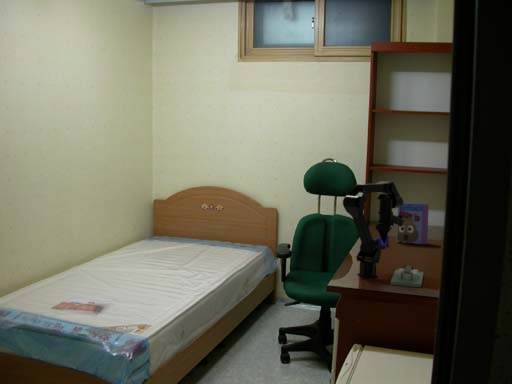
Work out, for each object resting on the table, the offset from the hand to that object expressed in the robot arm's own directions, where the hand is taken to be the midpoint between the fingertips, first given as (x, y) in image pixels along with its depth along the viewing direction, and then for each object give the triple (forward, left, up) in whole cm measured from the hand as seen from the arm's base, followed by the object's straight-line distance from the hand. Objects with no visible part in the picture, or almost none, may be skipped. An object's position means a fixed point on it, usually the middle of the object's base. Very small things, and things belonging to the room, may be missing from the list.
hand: (384, 243), depth 243 cm
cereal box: (+67, +57, -13) cm, 89 cm away
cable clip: (+42, +53, -13) cm, 69 cm away
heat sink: (0, -16, -12) cm, 20 cm away
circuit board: (0, -16, -13) cm, 21 cm away
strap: (0, -16, -9) cm, 18 cm away
